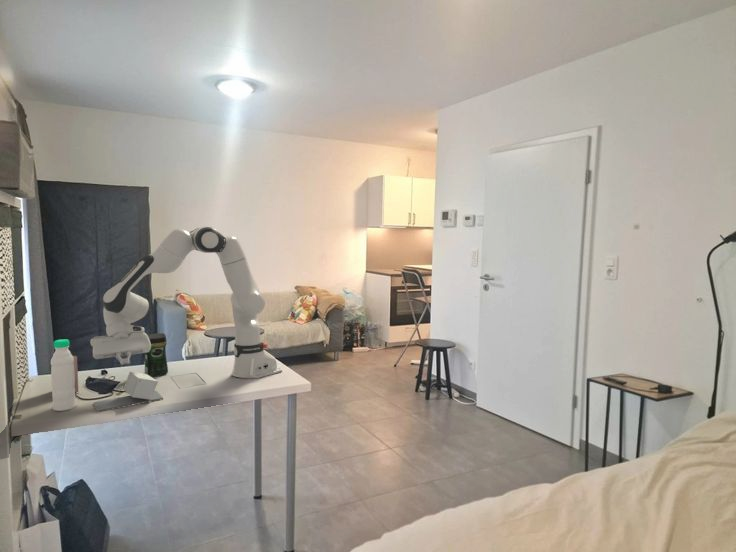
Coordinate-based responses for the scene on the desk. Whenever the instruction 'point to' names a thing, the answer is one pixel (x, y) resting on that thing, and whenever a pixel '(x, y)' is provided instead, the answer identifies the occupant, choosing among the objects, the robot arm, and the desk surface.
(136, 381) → the supplement box
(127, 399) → the mat
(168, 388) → the desk surface
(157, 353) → the coffee jar
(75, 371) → the greeting card
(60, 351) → the water bottle
